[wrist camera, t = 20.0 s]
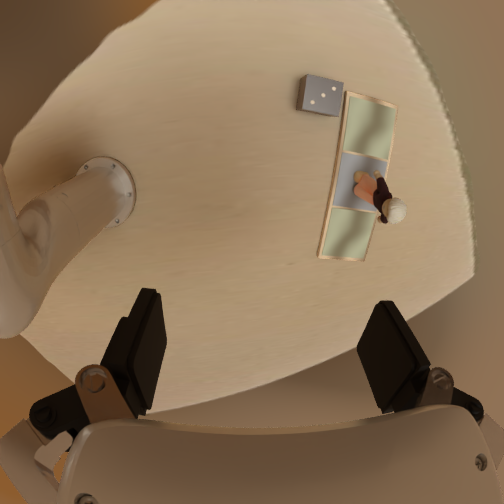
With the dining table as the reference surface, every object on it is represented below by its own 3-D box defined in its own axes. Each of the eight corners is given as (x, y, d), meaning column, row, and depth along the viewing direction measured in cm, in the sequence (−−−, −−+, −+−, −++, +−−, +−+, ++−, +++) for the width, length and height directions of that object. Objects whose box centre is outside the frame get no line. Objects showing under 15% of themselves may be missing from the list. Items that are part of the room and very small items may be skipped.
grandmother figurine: (344, 169, 39) (379, 193, 28) (365, 160, 38) (406, 181, 27) (359, 212, 42) (392, 248, 31) (378, 203, 41) (417, 236, 30)
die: (296, 109, 36) (302, 109, 31) (300, 78, 33) (307, 74, 29) (328, 116, 36) (338, 116, 32) (332, 85, 34) (343, 82, 29)
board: (316, 255, 47) (318, 258, 46) (345, 91, 34) (347, 91, 33) (362, 258, 48) (364, 262, 47) (395, 105, 34) (398, 106, 33)
